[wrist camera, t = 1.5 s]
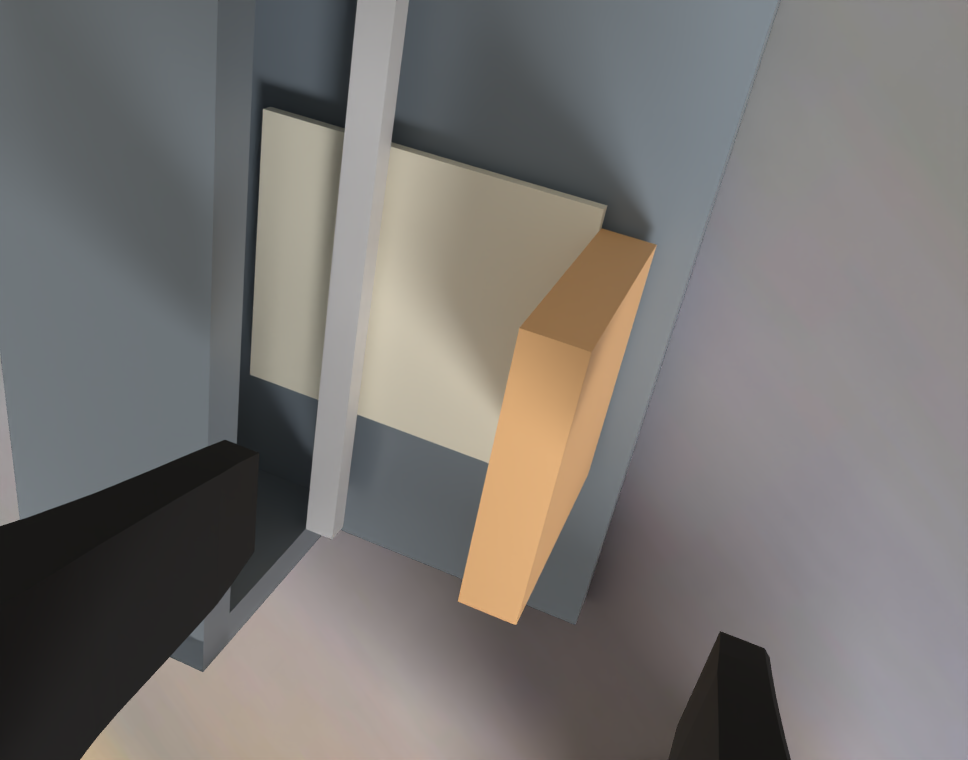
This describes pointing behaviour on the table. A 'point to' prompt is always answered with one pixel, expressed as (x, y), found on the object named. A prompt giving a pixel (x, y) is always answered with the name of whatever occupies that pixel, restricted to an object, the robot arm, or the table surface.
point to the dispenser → (366, 149)
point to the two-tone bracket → (458, 327)
